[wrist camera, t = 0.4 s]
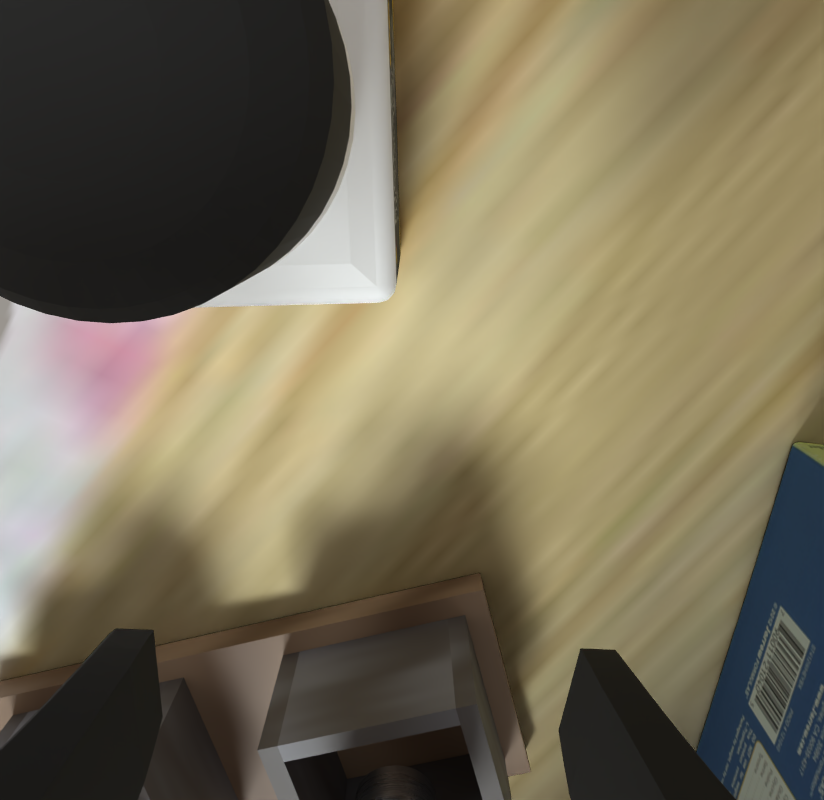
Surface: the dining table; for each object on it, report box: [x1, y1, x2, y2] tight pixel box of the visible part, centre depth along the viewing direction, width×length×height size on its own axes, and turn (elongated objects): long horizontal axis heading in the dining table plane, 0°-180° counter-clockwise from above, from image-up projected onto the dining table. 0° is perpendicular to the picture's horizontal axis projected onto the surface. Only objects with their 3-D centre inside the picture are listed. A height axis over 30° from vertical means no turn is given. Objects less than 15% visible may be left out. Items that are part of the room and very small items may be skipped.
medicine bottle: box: [0, 0, 401, 323], centre depth 13 cm, size 7×7×12 cm
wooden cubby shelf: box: [0, 573, 531, 800], centre depth 22 cm, size 18×8×5 cm, turn 105°
